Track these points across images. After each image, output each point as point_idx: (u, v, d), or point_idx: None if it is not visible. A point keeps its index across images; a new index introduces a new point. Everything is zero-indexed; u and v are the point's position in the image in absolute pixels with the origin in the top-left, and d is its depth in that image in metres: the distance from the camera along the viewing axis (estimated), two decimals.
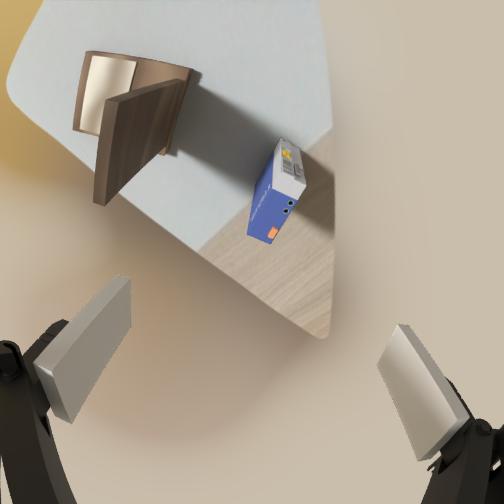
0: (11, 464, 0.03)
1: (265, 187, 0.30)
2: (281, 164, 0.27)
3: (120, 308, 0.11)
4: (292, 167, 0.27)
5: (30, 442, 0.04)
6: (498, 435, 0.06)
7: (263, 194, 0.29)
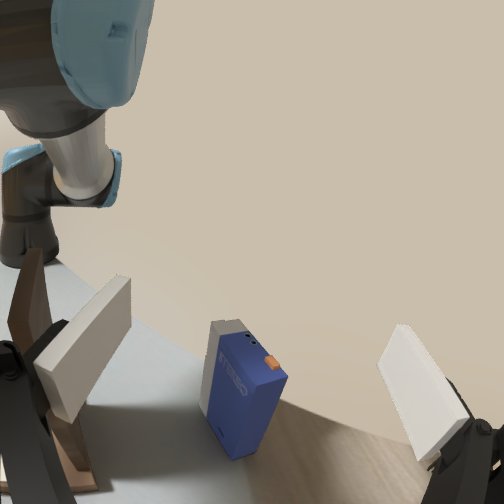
0: (11, 464, 0.03)
1: (223, 379, 0.22)
2: None
3: (120, 308, 0.11)
4: None
5: (30, 442, 0.04)
6: (498, 435, 0.06)
7: (226, 374, 0.21)
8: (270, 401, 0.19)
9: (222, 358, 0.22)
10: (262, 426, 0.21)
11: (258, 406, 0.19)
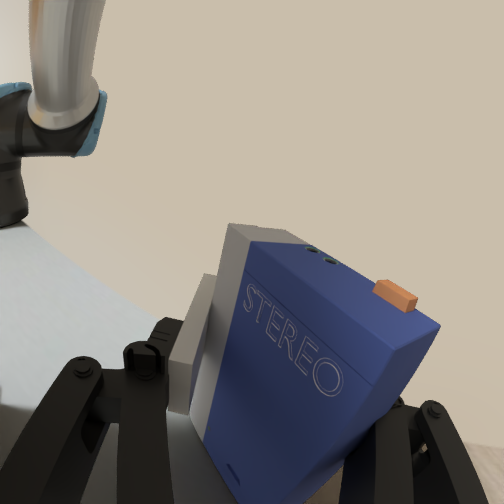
0: (127, 463, 0.05)
1: (251, 358, 0.09)
2: (218, 273, 0.11)
3: None
4: None
5: (157, 445, 0.05)
6: (417, 419, 0.07)
7: (265, 343, 0.08)
8: (385, 404, 0.07)
9: (254, 301, 0.09)
10: (337, 465, 0.08)
11: (361, 422, 0.06)
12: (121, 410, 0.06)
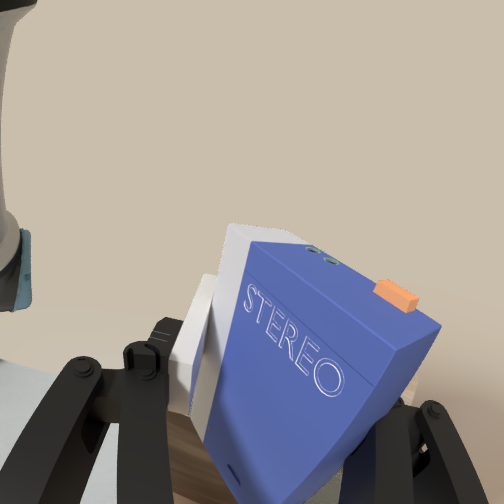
0: (127, 463, 0.05)
1: (252, 358, 0.09)
2: (218, 273, 0.11)
3: None
4: None
5: (157, 445, 0.05)
6: (417, 419, 0.07)
7: (265, 343, 0.08)
8: (386, 404, 0.07)
9: (254, 301, 0.09)
10: (338, 466, 0.08)
11: (361, 423, 0.06)
12: (121, 410, 0.06)
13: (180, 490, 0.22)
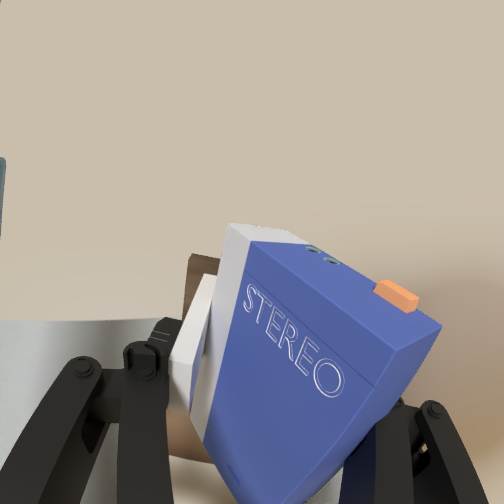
0: (127, 463, 0.05)
1: (251, 358, 0.09)
2: (218, 273, 0.11)
3: None
4: None
5: (157, 445, 0.05)
6: (417, 419, 0.07)
7: (265, 344, 0.08)
8: (386, 405, 0.06)
9: (254, 301, 0.09)
10: (338, 466, 0.08)
11: (362, 423, 0.06)
12: (121, 410, 0.06)
13: None
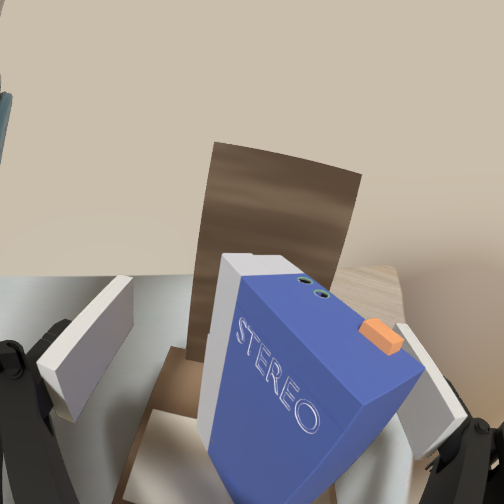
0: (14, 464, 0.03)
1: (244, 386, 0.09)
2: (215, 300, 0.12)
3: (122, 308, 0.11)
4: None
5: (33, 442, 0.04)
6: (496, 434, 0.06)
7: (255, 375, 0.09)
8: (368, 437, 0.07)
9: (245, 334, 0.09)
10: (327, 484, 0.08)
11: (341, 455, 0.06)
12: None
13: None
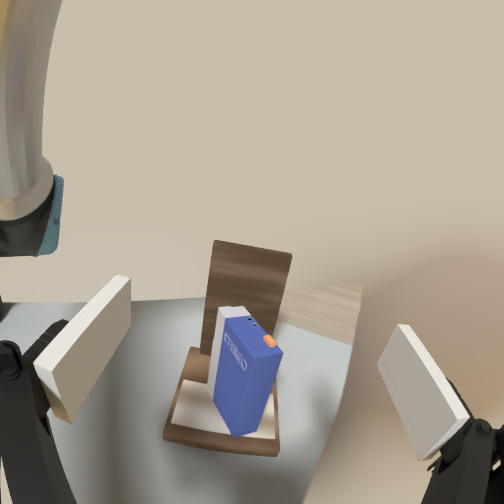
0: (11, 464, 0.03)
1: (227, 358, 0.25)
2: (216, 325, 0.28)
3: (120, 308, 0.11)
4: None
5: (30, 442, 0.04)
6: (498, 435, 0.06)
7: (230, 353, 0.25)
8: (268, 376, 0.23)
9: (227, 338, 0.25)
10: (261, 402, 0.24)
11: (257, 380, 0.22)
12: None
13: None
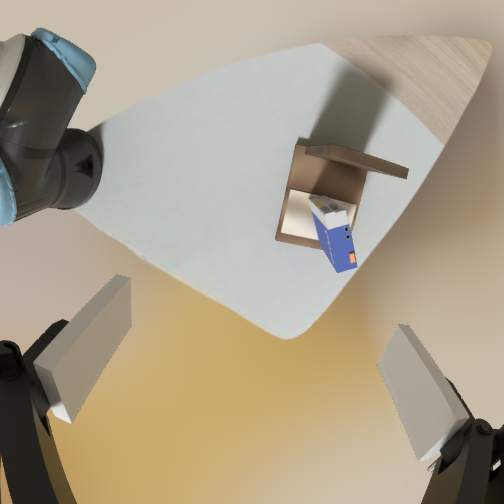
0: (11, 464, 0.03)
1: (324, 235, 0.37)
2: (321, 211, 0.34)
3: (120, 308, 0.11)
4: (329, 207, 0.35)
5: (30, 442, 0.04)
6: (498, 435, 0.06)
7: (327, 240, 0.36)
8: None
9: (326, 234, 0.35)
10: None
11: None
12: None
13: (320, 157, 0.40)
